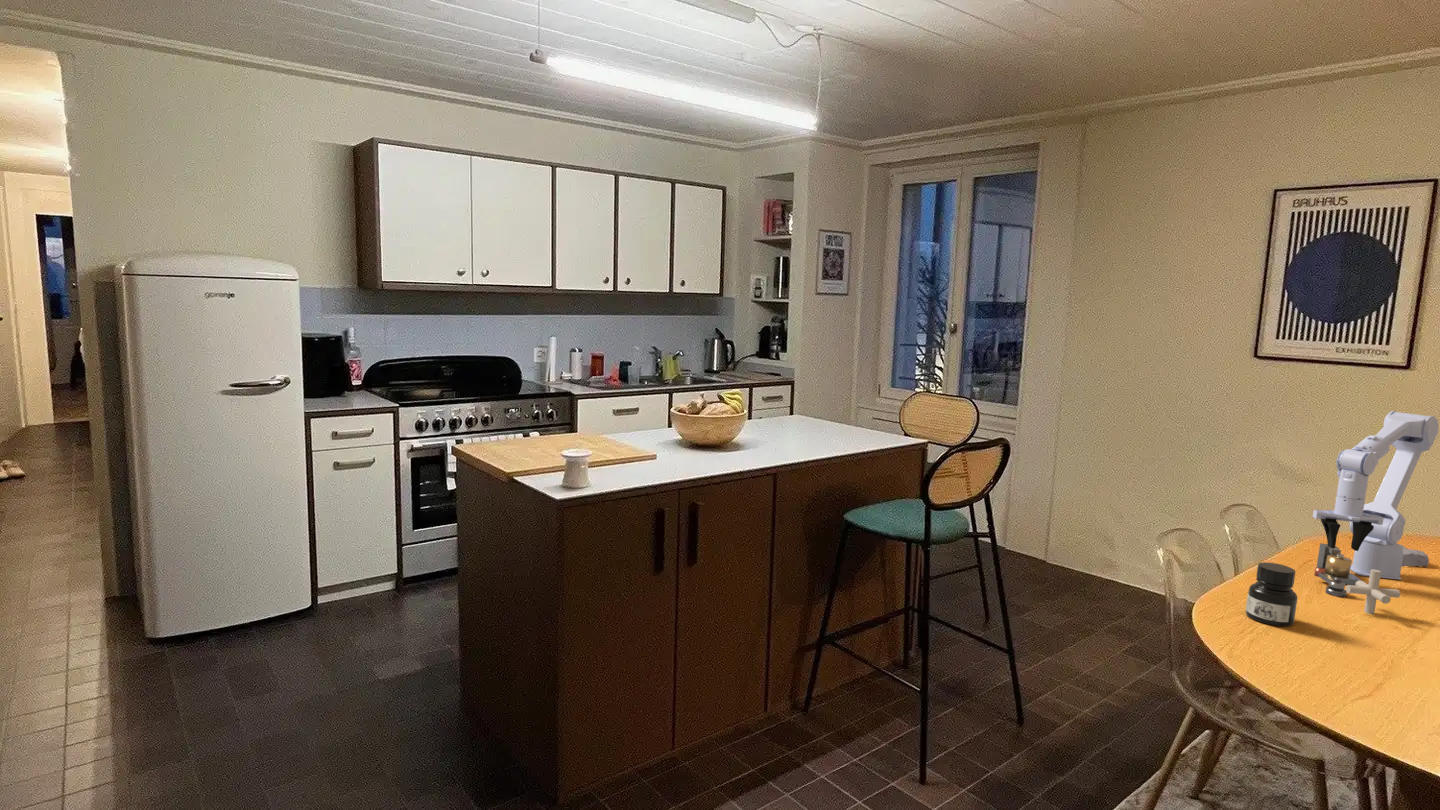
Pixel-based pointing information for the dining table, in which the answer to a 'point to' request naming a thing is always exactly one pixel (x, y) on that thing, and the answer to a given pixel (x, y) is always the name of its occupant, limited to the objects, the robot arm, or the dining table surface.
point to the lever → (1329, 579)
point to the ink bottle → (1272, 595)
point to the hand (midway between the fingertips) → (1342, 548)
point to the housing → (1338, 565)
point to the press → (1322, 559)
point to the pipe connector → (1373, 591)
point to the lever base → (1336, 592)
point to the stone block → (1414, 557)
